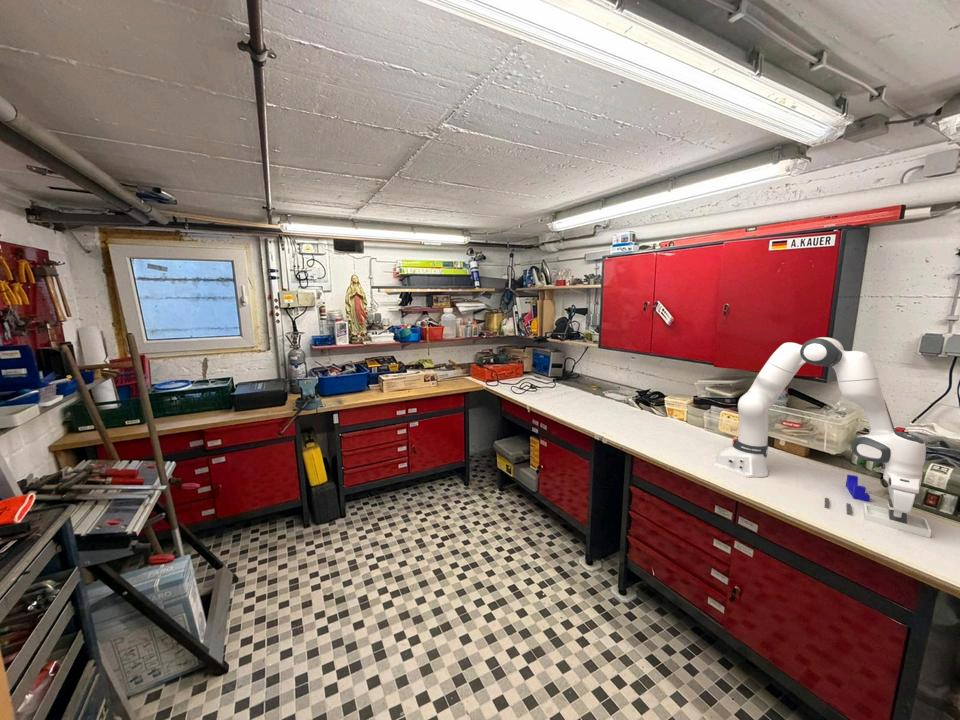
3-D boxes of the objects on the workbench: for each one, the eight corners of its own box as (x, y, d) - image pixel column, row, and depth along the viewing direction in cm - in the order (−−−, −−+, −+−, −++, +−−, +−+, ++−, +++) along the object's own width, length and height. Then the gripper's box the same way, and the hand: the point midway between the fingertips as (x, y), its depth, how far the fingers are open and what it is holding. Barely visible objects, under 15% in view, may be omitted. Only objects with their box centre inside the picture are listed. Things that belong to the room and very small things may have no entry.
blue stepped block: (869, 502, 146) (871, 489, 145) (853, 499, 149) (855, 486, 148) (860, 489, 156) (862, 476, 155) (845, 487, 158) (847, 474, 157)
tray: (864, 520, 135) (865, 513, 134) (863, 508, 142) (863, 502, 141) (930, 537, 124) (931, 531, 124) (924, 524, 131) (926, 518, 131)
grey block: (889, 521, 132) (888, 503, 132) (888, 516, 135) (887, 498, 135) (907, 525, 129) (907, 506, 129) (905, 519, 132) (905, 501, 132)
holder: (824, 509, 142) (824, 505, 142) (824, 500, 148) (825, 497, 148) (851, 516, 137) (851, 512, 137) (850, 507, 143) (850, 504, 143)
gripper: (885, 465, 140) (880, 498, 142) (892, 485, 125) (886, 521, 127) (911, 470, 135) (905, 504, 138) (920, 491, 121) (913, 529, 123)
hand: (896, 513), depth 132 cm, fingers closed on grey block, 4 cm apart
